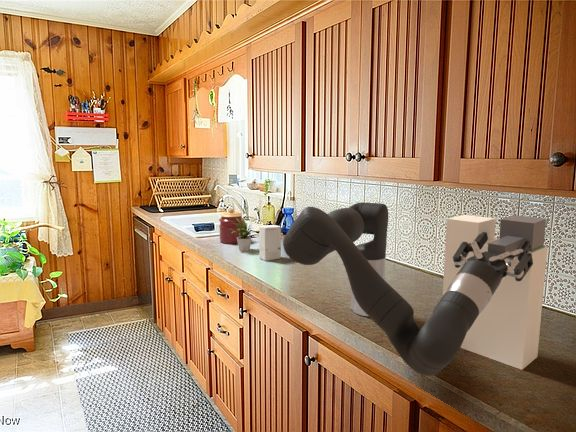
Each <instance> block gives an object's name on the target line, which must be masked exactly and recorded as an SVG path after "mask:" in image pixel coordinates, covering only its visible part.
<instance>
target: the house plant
mask: <svg viewBox="0 0 576 432" xmlns="http://www.w3.org/2000/svg"><path fill="white" fill-rule="evenodd" d="M236 219H237V218H236ZM243 219H244V218H243ZM243 219H241V223H240V221H239V220H238V219H237V220H238V222H239V225H238V224H236V225H237V226H238V227H239V229H237V230H239V232H240V233H239V235H241V236H240V237H237V241H238V243H237V246H238V250H239V252H249V251H250V250H251V243H252V236H251V235H250V234H253V233H254V229H252V226H253V224H254V223H255V222H254V223H253V221H254V220H252V222H251V223H250V224H249V226H248V223H247V222H246V220H245V219H244V220H243ZM232 222H233V221H232ZM234 223H235V222H234ZM234 223H233V224H234ZM241 225H242V226H241ZM238 227H237V228H238ZM233 232H238V231H234V230H233ZM233 232H232V233H233Z"/></svg>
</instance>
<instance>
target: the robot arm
mask: <svg viewBox="0 0 576 432" xmlns="http://www.w3.org/2000/svg"><path fill="white" fill-rule="evenodd" d="M388 226H389V209H388V206H387V205H386V204H385V203H379V202H363V201H362V202H356V203H354V204H352V205H351V206H349V207H344V208H343V207H341V208H339V209H334V210H332V211H330V212H329V213H327V212H326V211H324V210H322V209H320V208H318V207H315V206H307V207H305V208H304V209H303V210H302V211H301V212H300V213H299V214H298V216H297V217H296V219H295V220H294V222H293V223H292V224H291V226H290V227H289V228H288V230H287V232H286V234H285V236H284V238H283V240H282V244H283V245H282V246H283V249H284V252H285V254H286V255H287V257H289V258H290V260H292V261H294V262H295V263H298V264H299V265H303V266H313V265H317V264H318V263H320V261H322V260H323V259H324V258H325V257H327V256H328V255H329V254H330V253H333V252H335V251H336V253H337V254H338V256H339V258H340V260H341V261H342V264H343V266H344V269H345V273H346V274H347V278H348V282H349V285H350V310H352V311H353V312H354V313H355V314H357V315H359V316H363V317H369V318H370V319H371V320H372V321H373V322H374V323H375V324H376V325H377V326H378V327H379V329H381V330H382V331H383V332H384V334H385V335H386V337H387V338H388V341H390V343H391V344H392V346H393V347H394V349H395V351H396V352H397V353H398V356H400V359H402V360H403V362H404V363H405V364H406V365H407V366H408V367H409V368H410V369H411V370H413V371H414V372H416V373H418V374H419V375H421V376H424V377H431V376H432V377H433V376H435V375H437V374H439V373H441V371H442V370H443V369H444V368H446V367H447V366H448V365H449V364H451V362H452V361H453V360H454V359H455V357H456V356H457V354H458V352H459V351H460V349H461V348H460V347H461V345H462V343H463V341H464V338H465V336H466V333H467V332H468V330H469V329H470V328H471V326H472V325H473V323H474V321H475V320H476V318H477V317H478V315H479V314H480V313H481V312H482V311H483V309H484V308H485V307H486V305H487V304H488V302H489V301H490V299H491V297H492V296H493V294H494V293H495V291H496V289H497V288H498V286H499V284H500V282H501V280H502V278H504V277H505V276H507V275H508V276H512V277H515V280H516V281H521V280H522V279H523V278H524V276H525V275H526V273H527V272H528V271H529V269H530V268H531V266H532V265H533V259H532V254H531V253H528V252H529V250H530V248H531V247H530V241H528V239H527V238H523V240H522V242H521V243H520V245H519V246H518V248H517V250H515V251H513V252H509V251H508V252H505V253H503V254H498V253H490V252H486V251H485V252H482V253H481V251H480V250H481V249H482V247H483V246H484V244H485V243H486V242H487V240H488V236H487V233H486V232H482V234H479V235H478V236H477V238H476V239H475V240H474V241H473V242H471V243H467V242H462V243H461V245H460V246H459V248H458V250H457V251H456V253H455V254H454V256H453V262H454V265H455V267H456V268H459V267H460V266H462V268H461V269H460V270H459V272H458V273H457V275H456V276H455V277H454V279H453V280H452V282H451V283H450V285H449V286H448V288H447V290H446V292H445V294H444V295H443V294H442V297H441V298H440V300H439V301H438V303H437V304H436V305H435V307H434V309H433V311H432V314H431V315H429V318H427V320H426V321H425V322H424V324H423V325H422V326H421V327H419V325H418V324H417V322H416V321H415V319H414V317H415V315H414V314H415V312H414V308H413V307H412V305H411V304H410V303H409V302H408V301H407V300H406V299H405V298H404V297H402V295H400V293H399V292H398V291H396V290H395V289H394V288H393V287H392V286H391V284H389V283H388V282H387V281H386V260H387V258H386V257H387V256H386V255H387V254H386V253H387V242H388V241H387V240H388V239H387V238H388V228H389V227H388ZM363 234H365V235H373V239H372V240H369V241H368V242H363V243H360V244H358V245H356V244H355V243H354V242H356V241H357V240H359V238H361V237H362V235H363ZM469 252H473V254H474V256H472V257H470V258H468V259H466V260H465V258H466V257H467V255H468V253H469ZM516 256H517V258H515V259H514V257H516ZM504 259H507V261H508V262H507V263H506V262H505V260H504ZM516 264H517V265H516Z"/></svg>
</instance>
